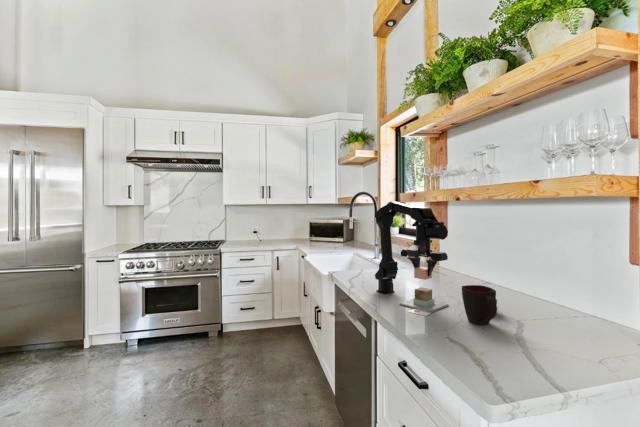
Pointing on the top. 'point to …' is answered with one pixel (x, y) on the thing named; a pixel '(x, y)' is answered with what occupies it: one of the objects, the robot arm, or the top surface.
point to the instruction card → (419, 312)
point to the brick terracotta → (421, 273)
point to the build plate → (427, 309)
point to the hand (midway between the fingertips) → (423, 275)
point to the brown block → (423, 294)
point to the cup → (479, 304)
